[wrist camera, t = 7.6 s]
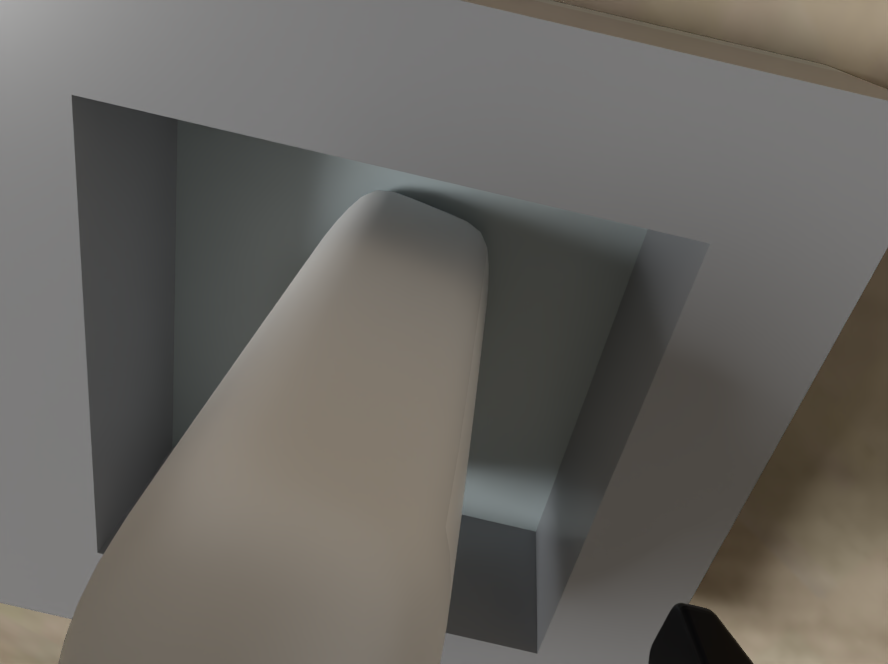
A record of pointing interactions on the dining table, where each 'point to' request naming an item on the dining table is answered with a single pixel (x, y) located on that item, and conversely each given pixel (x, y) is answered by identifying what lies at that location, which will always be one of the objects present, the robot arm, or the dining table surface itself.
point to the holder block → (509, 255)
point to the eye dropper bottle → (315, 469)
